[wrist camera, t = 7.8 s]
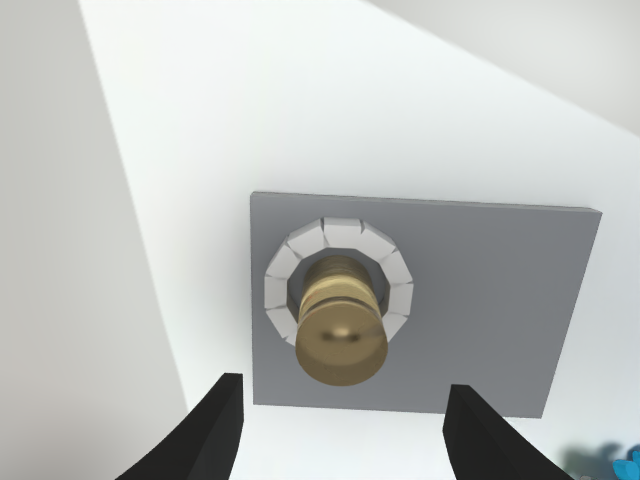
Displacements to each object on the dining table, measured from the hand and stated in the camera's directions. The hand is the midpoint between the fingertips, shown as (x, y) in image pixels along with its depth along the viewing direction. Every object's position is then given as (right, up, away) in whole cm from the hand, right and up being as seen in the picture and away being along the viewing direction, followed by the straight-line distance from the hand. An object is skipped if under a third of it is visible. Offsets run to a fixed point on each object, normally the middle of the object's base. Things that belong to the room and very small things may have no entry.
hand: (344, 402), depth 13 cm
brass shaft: (0, +3, +9) cm, 9 cm away
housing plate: (+5, +1, +10) cm, 12 cm away
